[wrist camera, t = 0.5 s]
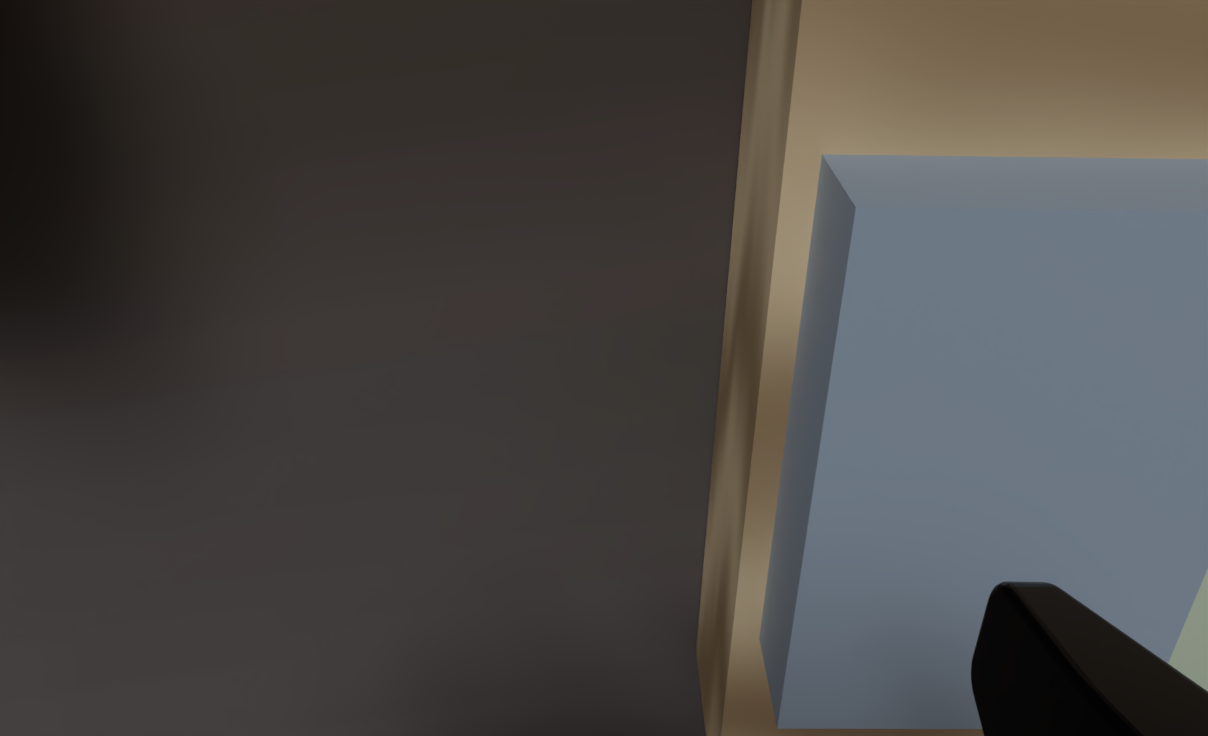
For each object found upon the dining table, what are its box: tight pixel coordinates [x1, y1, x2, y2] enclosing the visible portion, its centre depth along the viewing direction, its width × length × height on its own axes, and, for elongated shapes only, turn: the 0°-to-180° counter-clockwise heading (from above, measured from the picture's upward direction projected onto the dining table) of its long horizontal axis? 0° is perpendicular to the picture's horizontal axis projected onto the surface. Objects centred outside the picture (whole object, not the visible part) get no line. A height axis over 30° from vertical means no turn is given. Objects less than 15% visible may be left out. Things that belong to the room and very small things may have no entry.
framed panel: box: [696, 0, 1208, 736], centre depth 18 cm, size 18×8×4 cm, turn 179°
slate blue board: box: [759, 154, 1208, 729], centre depth 15 cm, size 9×6×2 cm, turn 179°
